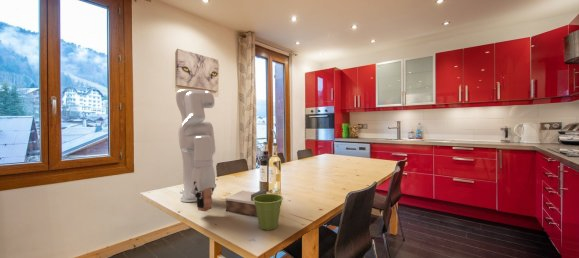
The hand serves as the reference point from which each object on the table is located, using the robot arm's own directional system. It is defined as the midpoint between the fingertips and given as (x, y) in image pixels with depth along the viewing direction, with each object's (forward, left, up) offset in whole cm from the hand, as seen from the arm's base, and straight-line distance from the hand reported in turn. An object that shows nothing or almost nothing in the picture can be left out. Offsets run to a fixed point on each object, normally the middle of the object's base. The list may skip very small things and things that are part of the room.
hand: (204, 205), depth 104 cm
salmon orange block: (0, 0, -2) cm, 2 cm away
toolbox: (+14, +15, -5) cm, 21 cm away
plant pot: (+31, +2, -5) cm, 31 cm away
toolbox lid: (+14, +15, +1) cm, 20 cm away
